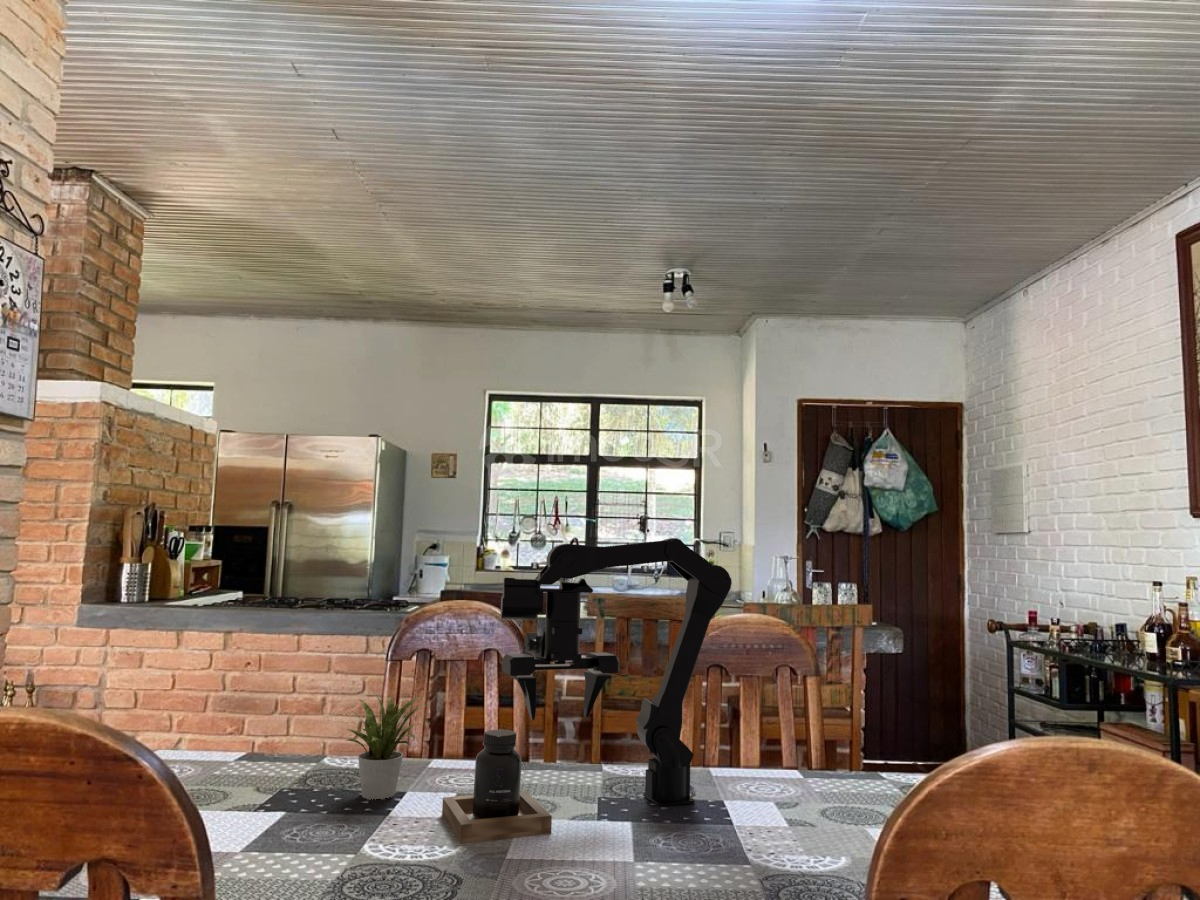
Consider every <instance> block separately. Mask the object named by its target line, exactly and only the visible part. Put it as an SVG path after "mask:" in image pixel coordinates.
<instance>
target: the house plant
mask: <svg viewBox="0 0 1200 900" xmlns="http://www.w3.org/2000/svg"><path fill="white" fill-rule="evenodd" d="M373 694H374V695H375V697H376V699H377V701H378V702H379V708H380V713H381V714H380V715H381V720H379V721H378V722H377V718H376V715H375V713H374V711H373V708H371V706H369V704H367V703H366V702H365V701H364V700H363V699H359V698H358V700H359V701H360V703H361V705H362V707H363V710H364V711H365V715H366V718H365V720H364V721H363V720H361V722H362V723H363V724H364V728H362V731H364V732H365V733H364V732H361V731H359V730H356V729H350V728H347V731H349V732H351V733H353V734H354V735H355V736H356V737H359V738H360V739H362V740H363V741H364V742H365V744H366V745H367V746H368V751H367V748H366V747H365V745H364V744H363V743H362V742H360V741H359V740H357V739H356V738H348V739H346V740H345V742H353V743H356V744H358V745H360V746H361V747H362V748H363V749H364V750H365V751H363V752H361V753H360V754H358V756H357V757H358V758H357V759H358V769H359V779H360V789H361V790H360V791H361V792H360V793H361V797H362V798H363V799H365V798H366V799H365V800H369V801H372V800H373V799H375V801H377V800H376V799H381V800H386V799H385V798H388V799H390V798H389V797H391V798H393V797H394V796H395V795H396V791H397V785H398V782H399V776H400V772H401V767H402V764H403V763H402V762H403V757H404V754H403V752H401V751H397V750H395V749H396V747H397V746H398V744H406V745H409V746H410V747H411V744H410V742H409V741H408V740H402V739H403V738H404V737H409V738H412V739H413V740H415V735H414V734H413V733H410V731H411V729H412V728H413V727H415V726H417V725H420V724H421V723H415V724H411V725H409V726H408V727H406V728H405V729H403V727H404V726H405V724H406V722H407V721H408V719H410V717H411V716H412V715H413V714H414V713H416V712H417V711H418V710H419V709H420V710H421V709H423V708H425V707H426V706H427V707H428V706H429V707H430V705H428V704H419V705H417V706H414V707H413V708H412V709H410V710H409V711H408V712H407V713H406V714H405V715H404V717H403V714H404V713H405V712H406V710H408V708H409V707H410V706H412V705H413V703H415V702H416V701H418V700H419V699H423V698H424V696H422V697H416V698H413V699H411V700H409V701H407V703H405V704H404V705H403V706H402V707H400V708H398V707H399V704H402V703H403V702H401V701H400V702H399V703H396V705H395V704H394V701H393V698H392V697H391V695H390V696H389V697H388V699H387V704H386V705H387V706H386V710H385V708H384V706H385V705H384V703H383V700H382V698H381V696H379V695H377V694H376V693H375V692H373ZM344 708H345V709H348V710H349V711H351V712H352V713H354V714H355V715H356V716H357V718H359V719H361V717H360V716H359V715H358V714H357V713H356V712H354V710H351V709H350V708H348V707H346V706H344ZM397 708H398V710H397ZM401 717H403V718H402V719H401ZM400 719H401V721H400ZM399 721H400V722H399ZM398 723H399V724H398ZM400 732H401V734H400ZM407 732H408V733H409V734H407ZM399 734H400V735H399ZM397 737H398V738H397ZM392 796H393V797H392ZM371 799H372V800H371ZM373 801H374V800H373Z"/></svg>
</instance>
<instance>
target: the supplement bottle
mask: <svg viewBox="0 0 1200 900" xmlns="http://www.w3.org/2000/svg"><path fill="white" fill-rule="evenodd" d="M482 746H483V747H484V748H483V749H482V750H480V751H478V753H477V755H476V758H475V765H474V777H473V778H474V779H473V781H474V782H473V794H472V795H473V817H474V818H475V819H476V820H477V819H488V818H498V817H508V816H518V815H519V802H520V791H521V781H522V780H521V779H522V756H521V753H520V752H518V751H517V750H516V749H515V747H516V746H517V733H516V732H515V731H513V730H509V729H490V730H487V731H484V732H483V741H482Z"/></svg>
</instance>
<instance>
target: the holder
mask: <svg viewBox="0 0 1200 900" xmlns="http://www.w3.org/2000/svg"><path fill="white" fill-rule="evenodd" d="M441 811H442V812H441V815H442V816H444V817H443V818H444V820H445V822H446V823H447V824H448V827H449V828H450V829H451V830H452V833H454V835H456V836H455V837H456V839H457V840H458V842H459V843H460V844H467V843H476V842H484V841H485V842H486V840H487V841H494V840H503V839H513V838H514V839H515V838H521V837H522V838H523V836H524V837H531V836H532V835H533V836H541V834H543V835H550V834H552V822H553V820H552V818H553V816H552V814H551V813H550V812H548V810H546V809H545V808H544V807H543V806H542V805H541V804H540V803H539V802H538V801H537V800H536V799H535V798H534V797H533V796H532V795H530V793H528V791H527V790H520V802H519V815H518V816H508V817H498V818H488V819H477V820H476V819H475V818H474V817H473V794H469V795H458V796H445V797H442V809H441ZM539 834H540V835H539ZM466 842H467V843H466Z"/></svg>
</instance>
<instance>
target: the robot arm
mask: <svg viewBox="0 0 1200 900" xmlns="http://www.w3.org/2000/svg"><path fill="white" fill-rule="evenodd" d="M545 561H546V565H545V566H544V567H543V568H542V570H540V572H539V573H537V575H536V577H535V578H515V577H509V576H508V577H507V576H505V577H504V578H503V586H502V596H500V619H501V620H524V621H525V620H528V621H530V620H531V621H532V620H533V621H535V620H536V617H537V615H540V614H541V615H542V614H543V612H544V611H543V607H544V593H546V600H545V602H546V603H545V624H544V625H542V626H543V627H542V633H541V635H539V634H538V633H537V632H526V633H525V634H524V640H523V641H524V642H523V648H524V653H506V654H505V655H504V656H503V658H502V660H501V672H502V673H505V674H506V675H508V676H509V677H510V678H511V679H513V680H515V681H516V682H517V683H518V685H519V687H520V689H521V692H522V694H523V698H524V701H525V704H526V705H525V706H526V708H527V711H528V715H529V719H530V720H531V721H535V719H536V712H537V677H536V676H534V675H533V673H535V671H551V670H584V671H583V675H584V680H585V684H584V685H585V686H584V696H583V697H584V698H583V717H584V718H589V716H590V714H591V712H592V710H593V707H594V705H595V703H596V700H597V699H598V696H599V694H600V693H601V690H602V689H603V687H604V686H605V684H606V682H607V681H608V680H611V679H613V675H612V674H619V673H620V669H621V665H620V664H621V662H620V660H619V657H618V656H617V654H613V653H610V652H605V651H604V652H602V651H601V652H597V651H596V652H587V654H586V656H584V657H582V653H580V640H581V639H580V637H581V635H583V627H581V604H582V599H581V598H582V594H592V593H593V592H594V588H592V587H591V586H590V585H588V583H587V582H586V579H585V578H580V579H579V580H578V581H577V582H567V581H566V582H559V587H558V588H549V587H548V588H546V587H545V588H544V587H543V588H541V586H542V585H544V586H545V585H546V586H550V585H551V586H552V585H554V584H555V583H556V582H558V581H560V580H563V579H564V580H565V579H566V580H572V579H574V578H578V577H582V576H585V575H588V574H591V573H594V572H597V571H600V570H603V569H606V568H618V567H625V566H626V567H627V566H637V565H644V564H646V565H647V564H653V563H655V564H656V563H664V562H666V563H668V564H669V565H670V566H671V567H672V568H673V569H674V570H675V572H677V573H678V574H679V575H680V576H681V577H682V578H683V579H684V580H685V581H687V585H686V591H685V610H684V615H683V619H682V622H681V624H680V628H679V630H678V633H677V636H676V639H675V642H674V645H673V648H672V650H671V654H670V655H669V656H670V657H669V660H668V662H667V665H666V668H665V670H664V674H663V677H662V679H661V683H660V686H659V689H658V691H657V692H656V693H655V695H654V697H653V698H652V699H651V700H649V699H648V698H646V697H643V699H642V702H641V708H640V711H639V714H638V716H637V717H636V718H635V719H634V721H635V722H636V723H637V727H636V734H637V736H638V738H639V740H640V741H641V742H642V743H643V745H644V746H645V747H646V748H648V752H649V754H650V755H651V756H653V758H648V761H647V763H648V765H647V766H648V767H647V768H646V770H645V783H644V784H645V790H644V791H643V793H642V794H643V797H645V798H647V800H649V801H651V802H652V803H654V804H656V805H657V806H658V807H665V806H675V805H686V804H687V805H688V804H695V803H696V800H695V798H694V797H691V764H692V761H693V758H694V753H693V751H692V750H691V748H689V747H688V746H687V745H686V744H685V743H684V742H683V741H682V740H681V734H682V728H683V722H684V721H683V717H684V715H683V713H684V711H683V708H684V705H683V704H684V699H685V697H686V694H687V691H688V687H689V684H690V682H691V679H692V676H693V672H694V671H695V667H696V664H697V660H698V658H699V656H700V652H701V649H702V645H703V643H704V641H705V637H706V635H707V632H708V628H709V627H710V626H709V625H710V622H711V620H712V619H713V618H714V616H715V615H716V613H718V612H719V609H720V608H722V606H723V604H724V602H725V600H726V598H727V596H728V595H729V593H730V591H731V590H732V583H733V582H732V581H733V580H732V577H731V575H730V573H729V572H728V571H727V570H726V568H724V567H723V566H721V565H718V564H712V563H710V561H708V560H707V559H706V558H704V557H703V556H702V555H700V554H699V553H697V552H696V551H694V550H693V549H691V548H690V547H688V546H687V545H686V544H685V543H684V542H683V541H682V540H681V539H679V538H678V537H677V538H676V537H670V538H669V537H668V538H665V539H663V540H656V541H645V542H636V543H627V544H626V543H625V544H616V545H607V546H600V545H599V546H597V545H587V544H576V543H574V544H573V543H563V544H562V543H561V544H558V545H555V546H554V547H552V548H551V549H550V550H549V552H548V553H547V556H546V560H545ZM530 654H534V656H532V655H530ZM585 669H587V670H585Z"/></svg>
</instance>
